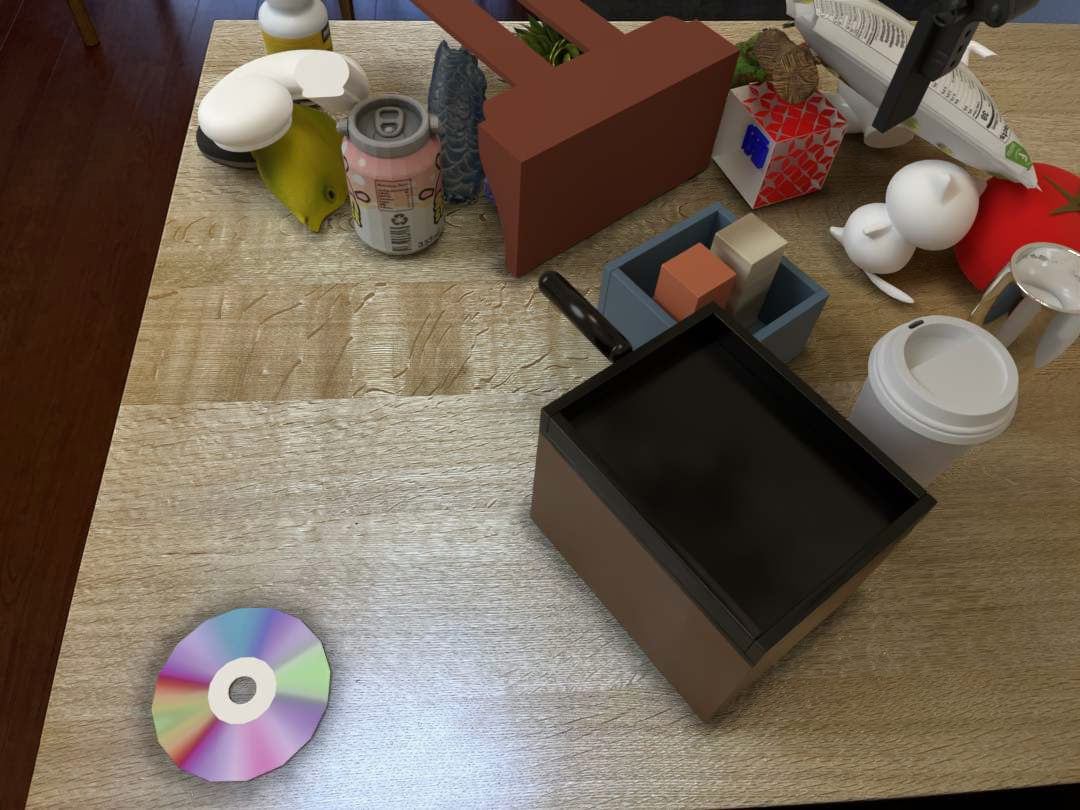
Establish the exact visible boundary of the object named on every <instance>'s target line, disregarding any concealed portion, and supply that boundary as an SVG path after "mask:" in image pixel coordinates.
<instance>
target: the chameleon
mask: <svg viewBox="0 0 1080 810" xmlns="http://www.w3.org/2000/svg"><path fill="white" fill-rule="evenodd" d="M781 26H782V29H783V30H785V29H789V28H794V27H795V20H792V21H787V22H784V23H783V24H781ZM783 30H780V29H778V28H777V27H774V28H771V27H770V26H769V27H765V28H762V29H761V30H759V31H758V32H756V33H755V34H753V36H751V37H750V38H748V39H747V40H745V41H740V42H736V43H735V44H734V45H735V46H736V47H738V48H739V49H740V54H739V57H738V61H737V64H736V68H735V72H734V75H733V79H732V83H731V86H730V89H734V88H738V87H742V86H746V85H750V84H754V83H758V82H766V81H773V86H774V89H775V90H776V91H777V93H778V94H779V95H780V97H781V98H782V99H783V100H785V101H787V102H789V103H800V102H802V101H805V100H806V99H807V98H809V97H810V96H811V95H812V94H813V93H814V91H815V90H816V88H817V89H818V86H819V82H820V75H819V70H818V66H821V65H822V64H821V63H820V62H819V61H818V60H817V59H816V58H815V57H814V56H813V54H812V53H811V51H810V49H809V47H808V45H807V44H806V42H805V41H801V42H800V43H799V44H797V43H795V41H793V40H792V39H790V37H789V36H788V35H787V33H786V31H783ZM822 66H823V65H822ZM729 92H730V90H729Z"/></svg>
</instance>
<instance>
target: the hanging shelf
mask: <svg viewBox="0 0 1080 810" xmlns="http://www.w3.org/2000/svg"><path fill="white" fill-rule="evenodd" d="M408 1H409V2H410V3H411V4H413V5H414V6H415V7H416V8H417V9H418V10H419V11H421V12H422V13H423V14H424V15H425V16H427V17H428V18H429V19H430V20H431V21H432V22H434V23H435V24H436V25H437V26H439V28H441V29H442V30H443V31H444V32H445V33H446V34H448V35H449V36H450V37H451V38H453V39H454V40H455V41H456V42H457V43H458V44H460V46H461V45H462V46H463V47H465V48H466V49H467V50H468V51H469V52H470V53H471V54H472V55H474V56H475V57H476V58H477V59H478V61H480V62H481V63H482V64H483V65H485V67H487V68H488V69H489V70H490V71H492V72H493V73H494V74H495V75H497V76H498V78H499V79H501V80H504V81H505V82H506V83H507V85H508V87H509V86H511V87H512V88H510V87H509V88H508V89H506V90H504V91H502V92H499V93H496V94H495V95H493V96H491V97H489V98H486V100H485V101H484V104H483V114H484V117H485V119H486V120H485V121H483V122H481V123H479V124H478V145H479V154H480V158H481V163H482V166H483V170H484V173H485V175H486V178H487V181H488V183H489V186H490V189H491V191H492V194H493V197H494V199H495V202H496V205H495V206H496V208H497V212H498V215H499V219H500V223H501V228H502V229H501V230H502V233H503V234H502V235H503V242H504V265H503V267H504V268H505V269H506V270H507V271H508V272H509V273H510V274H511V275H512V276H513V277H514V278H519V277H520V276H522V275H524V274H526V273H528V272H529V271H531V270H532V269H534V268H536V267H538V266H539V265H542V264H543V263H544V262H547V261H548V260H550V259H552V258H554V257H555V256H557V255H559V254H560V253H562V252H564V251H566V250H567V249H569V248H571V247H572V246H574V245H576V244H577V243H579V242H582V241H583V240H585V239H587V238H589V237H590V236H591V235H593V234H596V233H597V232H598V231H600V230H602V229H605V228H606V227H607V226H609V225H611V224H612V223H614V222H615V221H617V220H619V219H621V218H623V217H624V216H626V215H628V214H630V213H632V212H633V211H635V210H637V209H638V208H640V207H642V206H644V205H645V204H647V203H649V202H650V201H653V200H654V199H656V198H658V197H659V196H661V195H662V194H664V193H666V192H668V191H670V190H671V189H673V188H675V187H677V186H678V185H680V184H681V183H684V182H686V181H687V180H689V179H690V178H692V177H694V176H696V175H697V174H699V173H701V172H702V171H704V170H706V169H708V168H709V166H710V162H711V159H712V157H711V156H712V153H713V149H714V146H715V142H716V138H717V135H718V131H719V128H720V124H721V120H722V117H723V113H724V110H725V106H726V102H727V99H728V95H729V92H730V91H729V90H730V86H731V83H732V79H733V75H734V72H735V68H736V64H737V61H738V57H739V54H740V49H739V48H738V47H736V46H735V44H733V43H732V42H730V41H729V40H728V39H727V38H725V37H723V36H722V35H720V34H719V33H717V31H715V30H713V29H712V28H710V27H709V26H708V25H706V24H705V23H703V22H702V21H701V20H699V19H698V18H695V19H693V20H690V21H686V20H682V19H679V18H677V17H674V16H669V15H664V16H661V17H659V18H656V19H655V20H652V21H650V22H648V23H646V24H644V25H641V26H639V27H637V28H635V29H633V30H631V31H629V32H627V33H624V32H623V31H622V30H621V29H619V28H617V27H616V26H615V25H614V24H612V23H611V22H609V21H608V20H607V19H606V18H604V17H602V16H601V15H600V14H599V13H597V12H596V11H595V10H594V9H592V8H591V7H589V5H586V4H585V3H584V2H582V1H581V0H516V1H517V2H518V3H519V4H521V5H522V6H523V7H524V8H526V9H527V10H528V11H529V12H531V13H532V14H534V15H535V16H536V17H537V16H538V17H539V18H540V19H541V20H543V21H544V22H545V23H547V24H548V25H549V26H550V27H552V28H553V29H554V30H555V31H557V32H558V33H559V34H561V35H562V36H563V37H564V38H566V39H567V40H568V41H570V42H571V43H572V44H573V45H575V46H576V47H577V48H579V49H580V50H581V51H582V52H584V54H582V55H580V56H578V57H576V58H574V59H571V60H569V61H567V62H565V63H563V64H561V65H559V66H557V67H554V66H552V65H551V64H550V63H549V62H547V61H546V60H545V59H544V58H542V57H541V56H540V55H539V54H537V53H536V52H535V51H534V50H533V49H531V48H530V47H529V46H528V45H526V44H525V43H524V42H523V41H521V40H520V39H519V38H518V37H516V36H517V35H515V34H513V33H511V32H512V31H510V29H508V28H507V27H506V26H504V24H502V23H501V22H499V21H498V20H497V19H495V18H494V17H493V16H492V15H491V14H489V13H488V12H487V11H485V10H484V9H483V8H482V7H481V6H480V5H478V4H477V3H476V2H475V1H473V0H408ZM538 17H537V18H538ZM539 18H538V19H539ZM506 83H505V84H506Z"/></svg>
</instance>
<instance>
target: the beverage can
mask: <svg viewBox="0 0 1080 810" xmlns="http://www.w3.org/2000/svg"><path fill="white" fill-rule="evenodd" d="M336 123H337V126H336V128H337V131H338V132H339V133H340V136H344V138H343V142H342V146H341V148H342V154H343V160H344V166H345V172H346V178H347V184H348V190H349V194H348V196H349V200H350V208H351V213H352V219H353V225H354V229H355V232H356V233H357V235H358V236H359V238H360V239H361V241H362V242H363V243H364V244H365V245H366V246H368V247H370V248H371V249H372V250H375V251H377V252H381V253H383V254H387V255H393V256H405V255H412V254H415V253H417V252H420V251H423V250H425V249H426V248H428V247H429V246H431V245H432V244H433V243H434V242H436V241H437V239H438V238H439V236H440V235H441V234H442V231H443V229H444V225H445V220H446V216H445V201H444V192H443V171H442V151H441V142H440V139H439V136H438V134H439V130H440V129H441V127H442V124H441V121H440V120H439V119H438V117H437V116H435V115H433V114H429V112H428V108H427V107H425V105H424V104H423V103H422V102H420V101H418V100H416V99H415V98H414V97H410V96H407V95H404V94H400V93H399V94H397V93H382V94H374V95H372V96H368V98H366V99H364V100H362V101H360V102H359V103H357V104H356V105H355V106H354V107H353V108H352V109H351V111H350V112H348V115H347V116H345V117H343V118H339V119H338V122H336Z"/></svg>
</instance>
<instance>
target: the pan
mask: <svg viewBox="0 0 1080 810" xmlns="http://www.w3.org/2000/svg"><path fill="white" fill-rule="evenodd" d="M537 286H538V290H539V291H540V293H541V295H543V296H544V297H545V298H546V299H547V300H548V302H550V304H552V305H553V306H554V307H555V308H556V309H557V310H558V311H559V312H560V313H561V314H562V315H563V316H564V317H565V318H566V319H567V320H568V321H569V322H570V323H571V324H572V325H573V326H574V327H575V328H576V329H577V330H578V332H580V334H582V335H583V336H584V337H585V338H586V339H587V340H588V341H589V342H590V343H591V345H593V346H594V347H595V348H596V349H597V350H598V351H599V353H601V354H602V356H604V357H605V359H607V360H608V362H610V363H611V364H610V365H608V366H607V367H605V368H603V369H602V370H600V371H599V372H597V373H596V374H594V375H593V376H591V377H589V378H587V379H586V380H584V381H583V382H580V383H579V384H578V385H576V386H575V387H573V388H572V389H570V390H568V391H567V392H565V393H564V394H562V395H561V396H559V397H557V398H556V399H554V400H553V401H551V402H550V403H548V404H546V405H544V406H543V407H541V409H540V415H539V427H538V436H537V445H536V455H535V463H534V465H535V466H534V473H533V485H532V494H531V503H530V504H531V505H530V513H529V518H530V519H531V521H533V523H534V524H535V525H536V527H537V528H538V529H539V530H540V531H541V532H542V534H543V535H544V536H545V537H546V538H547V540H548V541H549V542H550V543H551V545H552V546H553V547H554V548H555V549H556V550H557V551H558V553H559V554H560V555H561V556H562V557H563V558H564V560H565V561H566V562H567V563H568V565H570V567H571V568H572V569H573V571H574V572H576V574H577V575H578V576H579V577H580V578H581V580H582V581H583V582H584V583H585V584H586V585H587V587H588V588H589V589H590V590H591V591H592V592H593V594H594V595H595V596H596V598H597V599H598V600H599V602H601V603H602V604H603V605H604V607H605V608H606V609H607V611H609V613H610V614H611V615H612V616H613V618H614V619H615V620H616V621H617V622H618V623H619V625H620V626H621V627H622V628H623V629H624V630H625V632H626V633H627V634H628V635H629V636H630V638H631V639H632V640H633V641H634V642H635V644H636V645H637V646H638V648H640V650H641V651H642V652H644V654H645V655H646V657H648V659H649V660H650V661H651V663H653V665H654V666H655V667H656V668H657V669H658V671H659V672H660V673H661V674H662V676H663V677H664V678H665V679H666V680H667V681H668V682H669V684H670V685H671V686H672V687H673V689H674V690H675V691H676V692H677V693H678V695H679V696H680V697H681V698H682V700H684V701H685V702H686V704H687V705H688V706H689V708H690V709H691V710H692V711H693V712H694V714H695V715H696V716H697V717H698V718H699V720H701V721H702V723H703V724H704V725H705V724H708V723H709V721H711V720H712V719H713V718H714V717H715V716H716V715H717V714H718V713H720V712H721V711H722V710H723V709H724V708H725V707H727V706H728V705H729V704H730V703H731V702H732V701H733V700H735V699H736V698H737V697H738V696H739V695H740V694H741V693H742V692H744V691H745V690H746V689H747V688H748V687H749V686H750V685H752V684H753V682H755V681H756V680H757V679H758V678H759V677H761V676H762V675H763V674H764V673H765V672H766V671H768V670H769V669H770V668H771V667H772V666H773V665H774V664H776V663H777V662H778V661H779V660H780V659H781V658H782V657H783V656H784V655H786V654H787V653H788V652H789V651H790V650H791V649H792V648H794V646H796V645H797V644H798V643H799V642H800V641H801V640H802V639H804V638H805V637H806V636H807V635H808V634H809V633H810V632H812V631H813V630H814V629H815V628H816V627H817V626H819V625H820V623H822V622H823V621H824V620H825V619H827V618H828V616H830V615H831V614H832V613H833V612H834V611H835V610H836V609H837V608H839V607H840V606H841V605H842V604H843V603H844V602H845V601H847V600H848V599H849V598H850V597H851V596H852V595H853V594H854V593H855V592H856V591H857V590H858V588H860V587H861V585H863V583H864V582H865V581H867V579H868V578H869V577H870V576H871V575H872V574H873V573H874V572H875V571H876V569H877V568H879V566H880V565H882V563H883V562H884V561H885V560H886V559H887V558H888V557H889V556H890V555H891V554H892V553H893V552H894V551H895V549H896V548H897V547H898V546H899V545H900V544H902V542H903V541H904V540H905V539H906V538H907V536H908V535H909V534H910V533H911V532H912V531H913V530H915V528H916V527H917V526H918V525H919V524H920V523H921V522H922V521H923V520H924V518H925V517H927V516H928V514H929V513H930V512H931V511H932V510H933V509H934V508H935V507H936V506H937V505H938V504H939V500H937V499H936V498H935V497H934V496H933V495H932V494H931V493H930V492H928V491H927V489H926V488H923V487H922V486H921V485H920V484H919V483H917V482H916V481H915V480H914V479H913V478H912V477H911V476H910V475H908V474H907V473H906V472H905V471H904V470H903V469H902V468H901V467H900V466H898V465H897V464H896V463H895V462H894V461H893V460H892V459H891V458H889V457H888V456H887V455H886V454H885V453H884V452H883V451H882V450H880V449H879V448H878V447H877V446H876V445H875V444H874V443H873V442H872V441H870V440H869V439H868V438H867V437H866V436H865V435H864V434H863V433H861V432H860V431H859V430H858V429H857V428H856V427H855V426H854V425H853V424H851V423H850V422H849V421H848V418H847V417H845V416H844V415H842V413H840V412H839V411H838V410H837V409H836V408H835V407H834V406H832V405H831V404H830V402H828V401H827V400H826V399H825V398H823V397H822V396H821V395H820V394H819V393H818V392H817V391H816V390H815V389H814V388H812V386H810V385H809V384H808V383H807V382H806V381H805V380H803V378H801V377H800V376H799V375H798V374H797V373H796V372H795V371H793V369H791V368H790V367H789V366H788V365H787V364H784V363H783V362H782V361H781V360H780V359H779V358H778V357H776V356H775V355H774V354H773V353H772V352H771V351H770V350H769V349H767V348H766V347H765V346H764V345H763V344H762V343H761V342H760V341H759V340H757V339H756V338H755V337H754V336H753V335H752V334H751V333H750V332H748V331H747V330H746V329H745V328H744V327H743V326H742V325H741V324H739V323H738V322H737V321H736V320H735V319H734V318H733V317H732V316H731V315H729V314H728V313H727V312H726V311H725V310H724V309H723V308H721V307H720V306H719V305H718V304H717V303H716V302H715V301H712V302H710V303H709V304H707V305H705V306H704V307H702V308H701V309H699V310H697V311H696V312H694V313H693V314H691V315H689V316H688V317H686V318H685V319H683V320H681V321H680V322H678V323H677V324H675V325H674V326H672V327H670V328H669V329H667V330H666V331H664V332H662V333H661V334H659V335H658V336H656V337H654V338H653V339H651V340H650V341H648V342H646V343H645V344H643V345H642V346H640V347H639V348H637V349H635V350H634V351H633V347H632V344H631V343H630V341H629V340H628V339H627V338H626V337H625V336H624V335H622V334H621V333H620V332H619V331H618V330H617V329H616V328H615V327H614V326H613V325H612V324H611V323H610V322H609V321H608V320H607V319H606V318H605V317H604V316H603V315H602V314H601V313H600V312H599V311H598V310H597V307H595V306H594V305H593V304H592V303H591V302H590V301H589V300H588V299H587V298H586V297H585V296H584V295H583V294H582V293H581V292H580V291H579V290H578V289H577V288H576V287H575V286H574V285H572V283H570V281H568V280H567V279H566V278H565V277H564V276H563V275H562V274H561V273H560V272H558V271H556V270H552V269H550V270H546V271H544V272H543V273H541V274H540V276H539V278H538V281H537Z"/></svg>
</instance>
